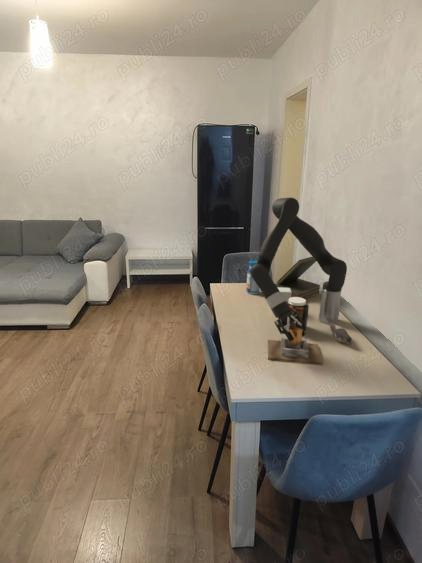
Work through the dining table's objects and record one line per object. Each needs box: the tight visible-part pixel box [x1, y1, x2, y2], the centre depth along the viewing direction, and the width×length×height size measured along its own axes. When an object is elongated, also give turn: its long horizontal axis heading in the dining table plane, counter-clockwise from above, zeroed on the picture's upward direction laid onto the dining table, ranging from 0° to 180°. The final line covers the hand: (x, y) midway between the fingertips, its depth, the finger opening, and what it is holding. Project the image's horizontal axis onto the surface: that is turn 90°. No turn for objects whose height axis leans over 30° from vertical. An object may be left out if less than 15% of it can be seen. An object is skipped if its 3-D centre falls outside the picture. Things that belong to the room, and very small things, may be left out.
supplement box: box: [277, 287, 292, 301], centre depth 199 cm, size 7×7×13 cm
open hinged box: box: [274, 256, 321, 300], centre depth 225 cm, size 23×20×25 cm
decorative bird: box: [325, 317, 353, 346], centre depth 173 cm, size 6×25×5 cm, turn 8°
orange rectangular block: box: [288, 327, 303, 349], centre depth 156 cm, size 5×4×10 cm
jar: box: [287, 297, 310, 332], centre depth 179 cm, size 12×12×15 cm
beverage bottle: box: [245, 259, 260, 295], centre depth 226 cm, size 8×8×20 cm
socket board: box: [267, 337, 324, 366], centre depth 157 cm, size 22×16×4 cm
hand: (298, 337), depth 154 cm, fingers open, 8 cm apart
